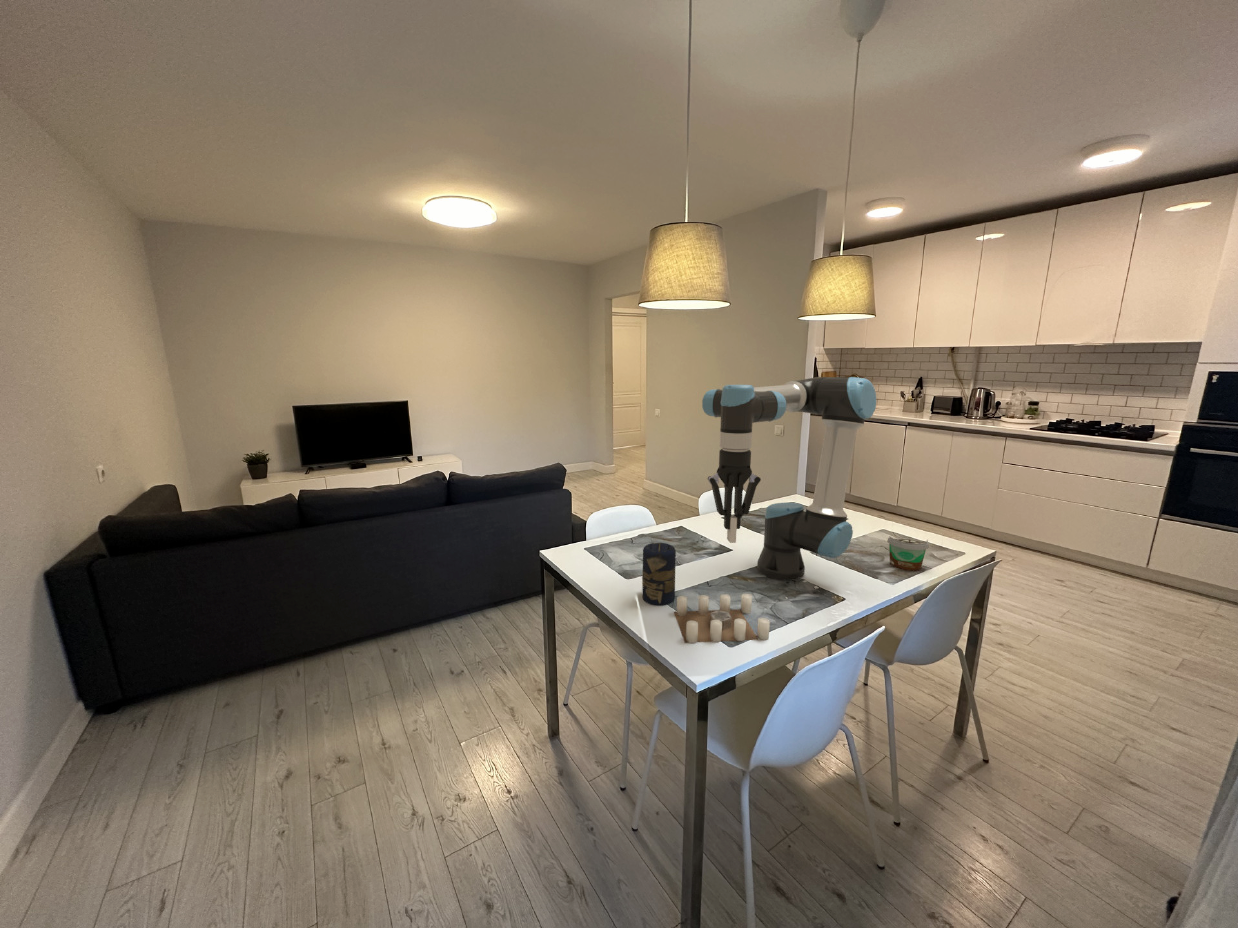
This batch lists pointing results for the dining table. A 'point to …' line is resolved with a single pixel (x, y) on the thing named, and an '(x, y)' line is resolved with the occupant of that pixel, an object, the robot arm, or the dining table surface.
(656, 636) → the dining table surface
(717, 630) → the spacers
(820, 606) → the dining table surface
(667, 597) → the canister
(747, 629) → the board
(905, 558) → the food container
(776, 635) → the dining table surface
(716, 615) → the nut
